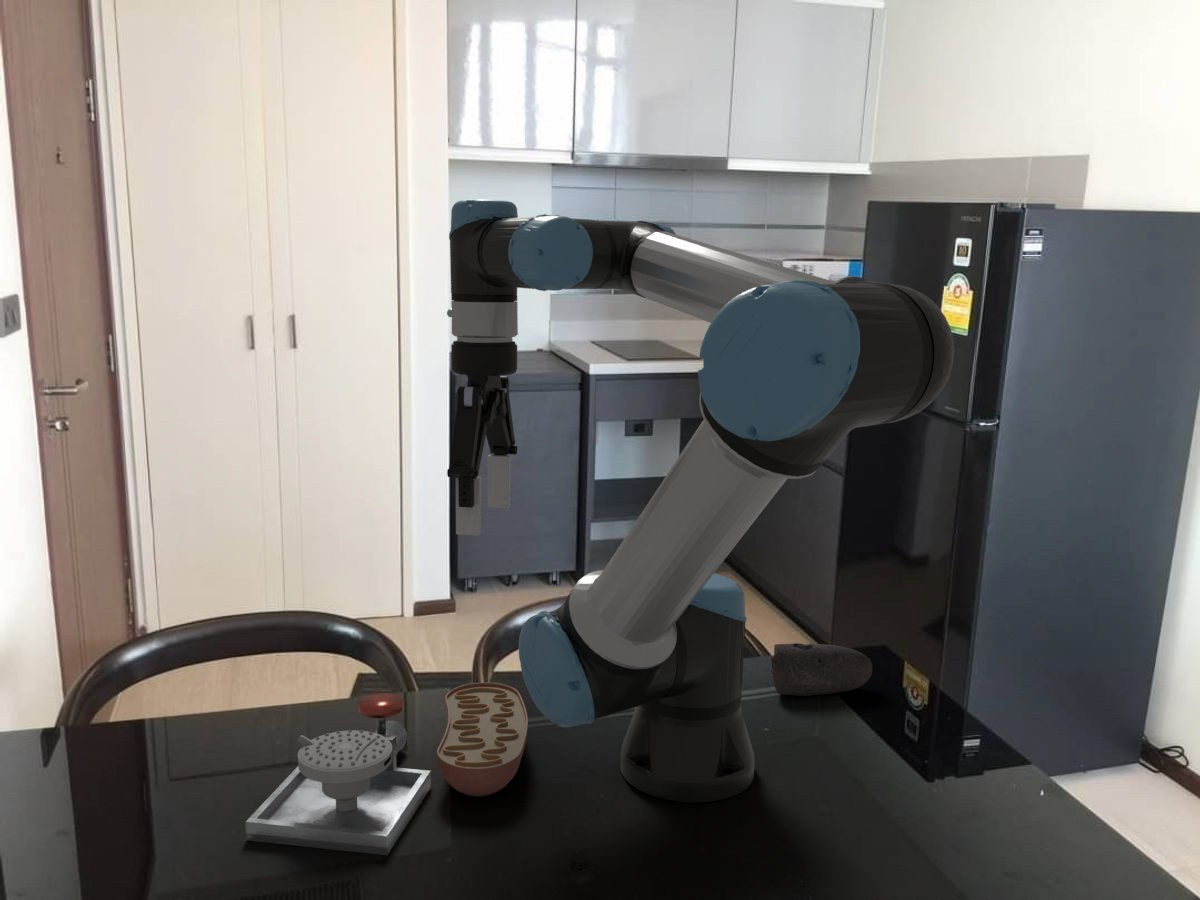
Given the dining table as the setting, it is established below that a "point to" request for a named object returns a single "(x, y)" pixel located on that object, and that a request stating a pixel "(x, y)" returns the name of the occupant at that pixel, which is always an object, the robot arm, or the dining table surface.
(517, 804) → the dining table surface
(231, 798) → the dining table surface
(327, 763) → the showerhead
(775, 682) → the perforated stone tool
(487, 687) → the anatomical model
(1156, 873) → the dining table surface
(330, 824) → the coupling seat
